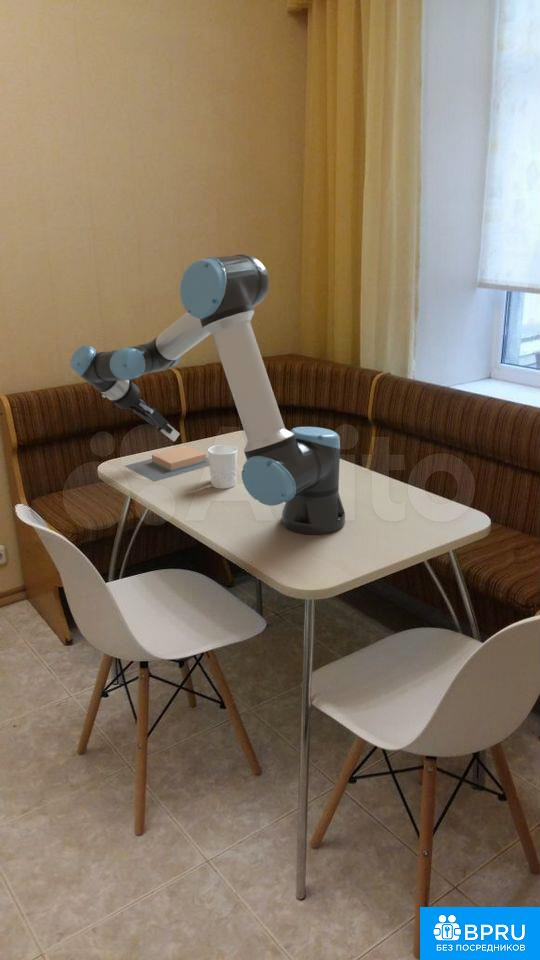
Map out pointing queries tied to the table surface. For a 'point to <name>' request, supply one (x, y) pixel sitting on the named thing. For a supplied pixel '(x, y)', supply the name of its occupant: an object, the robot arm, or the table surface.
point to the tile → (178, 458)
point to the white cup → (223, 465)
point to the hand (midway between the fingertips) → (175, 436)
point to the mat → (160, 469)
